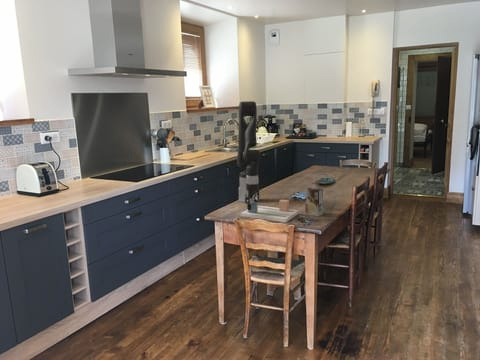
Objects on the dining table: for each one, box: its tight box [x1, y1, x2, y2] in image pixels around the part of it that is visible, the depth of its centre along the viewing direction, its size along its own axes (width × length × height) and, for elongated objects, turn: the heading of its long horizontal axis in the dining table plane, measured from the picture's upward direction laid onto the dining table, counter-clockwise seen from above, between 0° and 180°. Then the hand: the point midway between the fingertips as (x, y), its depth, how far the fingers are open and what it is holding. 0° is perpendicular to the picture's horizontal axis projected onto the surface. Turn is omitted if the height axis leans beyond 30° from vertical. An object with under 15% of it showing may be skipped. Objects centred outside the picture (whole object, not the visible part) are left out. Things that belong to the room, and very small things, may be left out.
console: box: [240, 205, 300, 223], centre depth 255 cm, size 30×20×2 cm
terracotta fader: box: [278, 199, 290, 211], centre depth 256 cm, size 5×4×6 cm
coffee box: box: [305, 187, 324, 217], centre depth 253 cm, size 9×6×16 cm
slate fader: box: [247, 200, 259, 213], centre depth 253 cm, size 5×4×6 cm
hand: (252, 208), depth 254 cm, fingers open, 8 cm apart
